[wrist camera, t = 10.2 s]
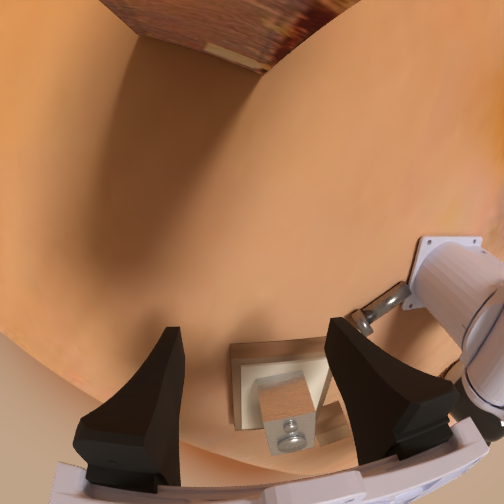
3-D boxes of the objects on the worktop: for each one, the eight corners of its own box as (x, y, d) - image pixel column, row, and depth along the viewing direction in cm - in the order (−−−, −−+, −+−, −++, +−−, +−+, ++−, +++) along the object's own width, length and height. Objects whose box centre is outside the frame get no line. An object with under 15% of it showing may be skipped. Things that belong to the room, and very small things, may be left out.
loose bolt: (399, 274, 26) (412, 286, 23) (407, 293, 26) (419, 306, 24) (347, 310, 27) (356, 325, 24) (358, 327, 27) (367, 342, 25)
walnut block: (338, 400, 33) (347, 424, 30) (341, 413, 35) (349, 436, 31) (308, 410, 33) (315, 435, 30) (313, 423, 35) (320, 446, 32)
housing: (302, 369, 26) (317, 416, 21) (303, 410, 29) (314, 451, 24) (255, 378, 26) (263, 427, 21) (264, 418, 29) (272, 459, 24)
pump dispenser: (426, 399, 38) (464, 468, 24) (440, 361, 33) (492, 439, 20) (470, 375, 38) (510, 434, 24) (487, 335, 33) (540, 399, 20)
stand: (333, 335, 28) (341, 351, 26) (313, 409, 33) (317, 423, 31) (230, 344, 27) (231, 361, 24) (233, 417, 32) (235, 432, 30)
